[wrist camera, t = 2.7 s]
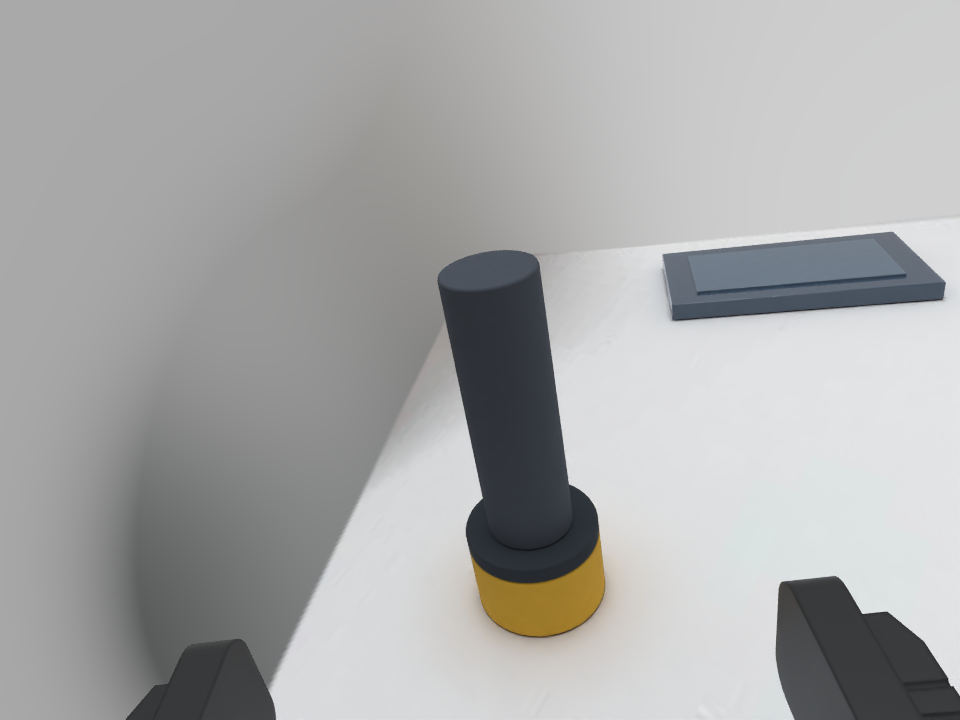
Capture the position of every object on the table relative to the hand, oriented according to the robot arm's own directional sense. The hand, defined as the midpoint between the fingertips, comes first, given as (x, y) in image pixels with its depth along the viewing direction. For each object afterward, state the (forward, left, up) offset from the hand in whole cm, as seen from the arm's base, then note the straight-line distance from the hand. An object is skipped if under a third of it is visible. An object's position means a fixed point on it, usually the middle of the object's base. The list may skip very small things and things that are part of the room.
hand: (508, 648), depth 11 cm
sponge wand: (-7, +8, -10) cm, 15 cm away
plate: (-7, +36, -10) cm, 38 cm away
